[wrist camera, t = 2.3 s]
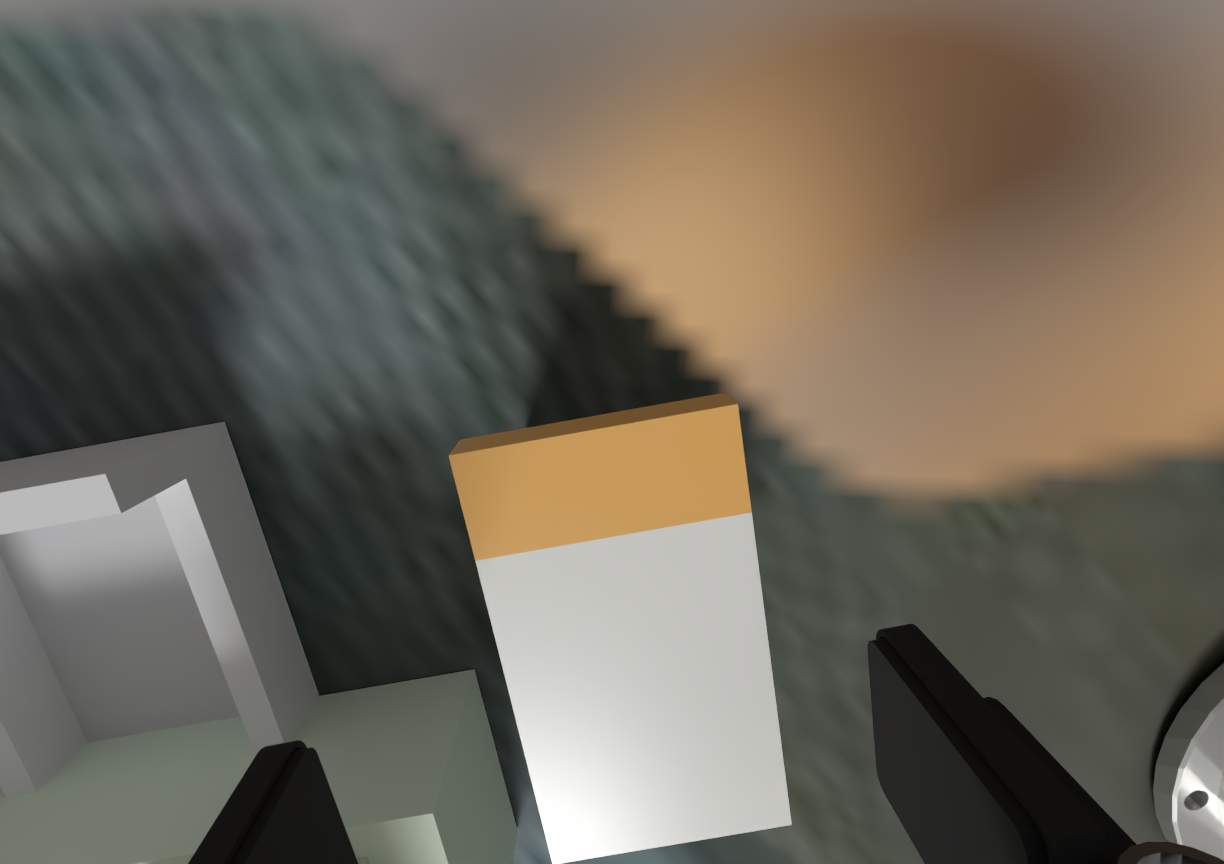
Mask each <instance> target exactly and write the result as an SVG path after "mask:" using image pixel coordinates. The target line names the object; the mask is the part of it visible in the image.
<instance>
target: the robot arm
mask: <svg viewBox="0 0 1224 864" xmlns="http://www.w3.org/2000/svg"><path fill="white" fill-rule="evenodd" d="M868 661H869V674H870V688H871V701H872V715H873V728H874V742H875V755H876V768H877V774H878V778H879V781H880V784H881V787H882V789H883V791H884V793H885V795H886V797H887V799H888V801H889V802H890V804H891V806H892V807H893V809H894V811H895V813H896V814H897V816H898V818H899V820H900V821H901V823H902V825H903V827H904V828H905V830H906V832H907V833H908V835H909V837H910V839H911V840H912V842H913V844H914V846H915V847H916V849H917V851H918V852H919V854H920V856H921V858H922V859H923V861H924V863H925V864H1224V662H1223V663H1222V664H1221V665H1220V666H1219V667H1218V668H1217V669H1216V670H1215V671H1214V672H1212V673H1211V674H1210V675H1209V676H1208V677H1207V678H1206V679H1205V680H1204V681H1203V682H1202V683H1201V684H1200V685H1199V686H1198V687H1197V689H1196V690H1195V691H1194V692H1193V694H1192V695H1191V696H1190V697H1189V699H1188V700H1187V701H1186V702H1185V704H1184V705H1183V706H1182V707H1181V709H1180V710H1179V712H1178V714H1177V716H1176V717H1175V719H1174V721H1173V723H1172V724H1171V726H1170V728H1169V730H1168V732H1167V733H1166V735H1165V738H1164V741H1163V744H1162V747H1161V750H1160V753H1159V756H1158V759H1157V762H1156V768H1155V777H1154V785H1153V796H1154V804H1155V811H1156V817H1157V819H1158V821H1159V824H1160V826H1161V829H1162V831H1163V834H1164V836H1165V838H1166V839H1167V840H1168V842H1144V843H1140V844H1136V843H1135V842H1134V841H1133V840H1132V839H1131V838H1130V837H1129V836H1128V835H1127V834H1126V833H1125V832H1124V831H1123V830H1122V829H1121V828H1120V827H1119V826H1118V825H1117V824H1116V822H1115V821H1114V820H1113V819H1112V818H1111V817H1110V816H1109V815H1108V814H1107V813H1106V812H1105V811H1104V810H1103V809H1102V808H1101V807H1100V806H1099V805H1098V804H1097V803H1096V801H1095V800H1094V799H1093V798H1092V797H1091V796H1090V795H1089V794H1088V793H1087V792H1086V791H1085V790H1084V789H1083V788H1082V787H1081V786H1080V785H1079V784H1078V783H1077V782H1076V781H1075V779H1074V778H1073V777H1072V776H1071V775H1070V774H1069V773H1068V772H1067V771H1066V770H1065V769H1064V768H1063V767H1062V766H1061V765H1060V764H1059V763H1058V762H1057V761H1056V760H1055V758H1054V757H1053V756H1052V755H1051V754H1050V753H1049V752H1048V751H1047V750H1046V749H1045V748H1044V747H1043V746H1042V745H1041V744H1040V743H1039V742H1038V741H1037V740H1036V739H1035V738H1034V736H1033V735H1032V734H1031V733H1030V732H1029V731H1028V730H1027V729H1026V728H1025V727H1024V726H1023V725H1022V724H1021V723H1020V722H1019V721H1018V720H1017V719H1016V718H1015V717H1014V715H1013V714H1012V713H1011V712H1010V711H1009V710H1008V709H1007V708H1006V707H1005V706H1004V705H1003V704H1001V703H1000V702H999V701H998V700H996V699H994V698H991V697H987V698H982V696H981V695H980V694H979V693H978V692H977V691H976V690H975V689H974V688H973V687H972V686H971V685H970V683H969V682H968V681H967V680H966V679H965V678H964V677H963V676H962V675H961V674H960V673H959V672H958V670H957V669H956V668H955V667H954V666H953V665H952V664H951V663H950V662H949V661H948V660H947V659H946V657H945V656H944V655H943V654H942V653H941V652H940V651H939V650H938V649H937V648H936V647H935V646H934V644H933V643H932V642H931V641H930V640H929V639H928V638H927V637H926V636H925V635H924V634H923V633H922V631H921V630H920V629H919V628H918V627H917V626H915V625H914V624H907V625H902V626H897V627H891V628H886V629H881V630H879V631H878V632H877V635H876V640H872V641H869V642H868ZM188 864H358V861H357V859H356V856H355V853H354V851H353V848H352V845H351V843H350V840H349V837H348V834H347V832H346V829H345V826H344V824H343V821H342V818H341V816H340V813H339V810H338V807H337V805H336V802H335V799H334V797H333V794H332V791H331V789H330V786H329V783H328V780H327V778H326V775H325V772H324V770H323V767H322V764H321V762H320V759H319V756H318V754H317V752H316V750H315V749H314V748H311V747H309V748H307V747H306V745H305V743H303V742H302V741H299V740H296V741H291V742H286V743H281V744H275V745H270V746H265V747H264V748H262V749H261V750H260V751H259V752H258V753H257V755H256V756H255V758H254V759H253V761H252V763H251V764H250V766H249V767H248V769H247V771H246V772H245V774H244V775H243V777H242V778H241V780H240V782H239V783H238V785H237V786H236V788H235V790H234V791H233V793H232V794H231V796H230V798H229V799H228V801H227V802H226V804H225V806H224V807H223V809H222V810H221V812H220V814H219V815H218V817H217V818H216V820H215V821H214V823H213V825H212V826H211V828H210V829H209V831H208V833H207V834H206V836H205V837H204V839H203V841H202V842H201V844H200V845H199V847H198V849H197V850H196V852H195V853H194V855H193V857H192V858H191V860H190V861H189V863H188Z"/></svg>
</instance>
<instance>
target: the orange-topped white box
mask: <svg viewBox="0 0 1224 864" xmlns="http://www.w3.org/2000/svg"><path fill="white" fill-rule="evenodd" d="M449 460H450V463H451V467H452V471H453V475H454V479H455V483H456V487H457V491H458V495H459V499H460V503H461V507H462V511H463V515H464V518H465V522H466V526H467V530H468V534H469V538H470V542H471V546H472V550H473V554H474V558H475V562H476V566H477V570H478V573H479V577H480V581H481V585H482V589H483V593H484V597H485V601H486V605H487V609H488V613H489V617H490V621H491V625H492V628H493V632H494V636H495V640H496V644H497V648H498V652H499V656H500V660H501V664H502V668H503V672H504V676H505V680H506V683H507V687H508V691H509V695H510V699H511V703H512V707H513V711H514V715H515V719H516V723H517V727H518V731H519V735H520V739H521V742H522V746H523V750H524V754H525V758H526V762H527V766H528V770H529V774H530V778H531V782H532V786H533V790H534V794H535V797H536V801H537V805H538V809H539V813H540V817H541V821H542V825H543V829H544V833H545V837H546V841H547V845H548V849H549V852H550V856H551V860H552V864H561V863H567V862H573V861H579V860H584V859H590V858H596V857H602V856H608V855H614V854H620V853H626V852H632V851H638V850H644V849H650V848H656V847H662V846H668V845H674V844H680V843H686V842H692V841H698V840H704V839H710V838H716V837H722V836H728V835H734V834H740V833H746V832H752V831H758V830H764V829H770V828H776V827H782V826H788V825H792V824H791V816H790V808H789V800H788V793H787V785H786V777H785V769H784V761H783V754H782V746H781V738H780V730H779V722H778V714H777V707H776V699H775V691H774V683H773V675H772V668H771V660H770V652H769V644H768V636H767V628H766V621H765V613H764V605H763V597H762V589H761V581H760V574H759V566H758V558H757V550H756V542H755V535H754V527H753V519H752V511H751V503H750V495H749V488H748V480H747V472H746V464H745V456H744V449H743V441H742V433H741V425H740V417H739V409H738V404H737V403H736V402H735V401H734V400H733V399H732V398H731V397H730V396H729V395H728V394H727V393H726V392H725V393H720V394H714V395H708V396H703V397H697V398H692V399H686V400H680V401H675V402H669V403H664V404H658V405H652V406H647V407H641V408H636V409H630V410H624V411H619V412H613V413H608V414H602V415H596V416H591V417H585V418H580V419H574V420H568V421H563V422H557V423H552V424H546V425H540V426H535V427H529V428H524V429H518V430H512V431H507V432H501V433H496V434H490V435H484V436H479V437H473V438H468V439H462V440H460V441H459V442H458V443H457V445H456V446H455V447H454V449H453V450H452V452H451V453H450V454H449Z"/></svg>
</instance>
